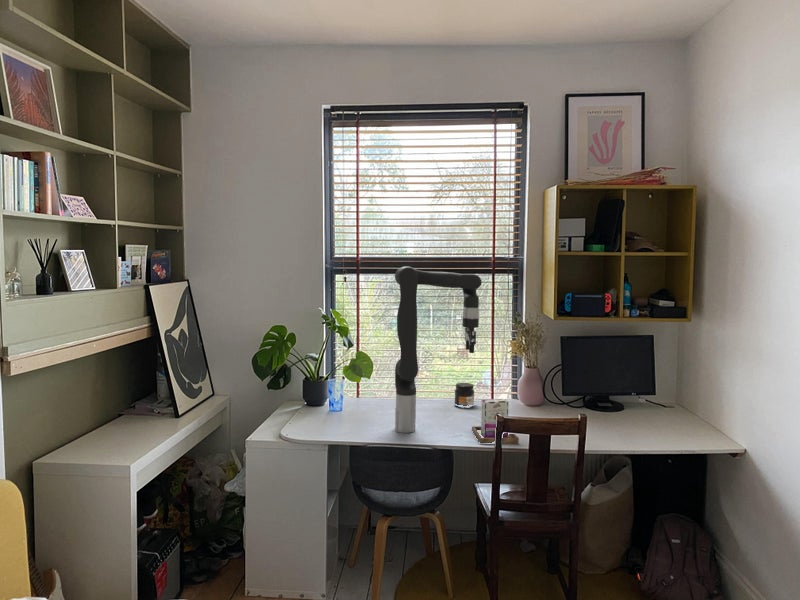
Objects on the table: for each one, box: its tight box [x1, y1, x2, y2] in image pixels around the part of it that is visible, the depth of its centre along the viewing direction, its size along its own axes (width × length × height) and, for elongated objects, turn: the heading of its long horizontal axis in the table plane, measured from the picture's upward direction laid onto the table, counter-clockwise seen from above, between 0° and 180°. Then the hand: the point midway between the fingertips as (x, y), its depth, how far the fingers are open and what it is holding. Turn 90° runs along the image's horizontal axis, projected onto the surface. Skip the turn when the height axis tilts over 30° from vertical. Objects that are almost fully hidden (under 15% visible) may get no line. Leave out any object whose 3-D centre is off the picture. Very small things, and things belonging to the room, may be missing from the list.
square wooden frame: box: [471, 425, 520, 445], centre depth 244 cm, size 17×17×2 cm
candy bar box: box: [480, 398, 509, 438], centre depth 244 cm, size 11×5×16 cm, turn 103°
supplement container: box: [454, 382, 475, 406], centre depth 295 cm, size 10×10×12 cm
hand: (469, 351), depth 257 cm, fingers open, 8 cm apart
